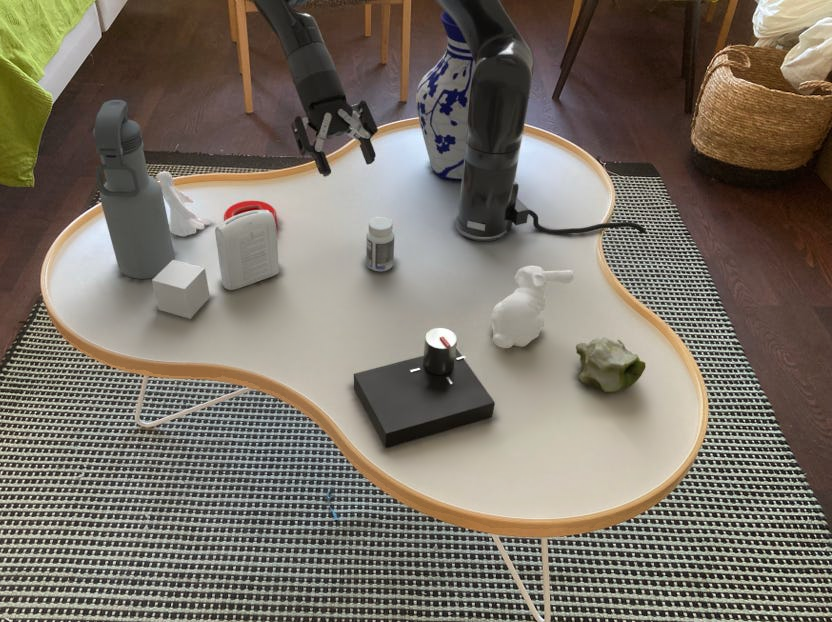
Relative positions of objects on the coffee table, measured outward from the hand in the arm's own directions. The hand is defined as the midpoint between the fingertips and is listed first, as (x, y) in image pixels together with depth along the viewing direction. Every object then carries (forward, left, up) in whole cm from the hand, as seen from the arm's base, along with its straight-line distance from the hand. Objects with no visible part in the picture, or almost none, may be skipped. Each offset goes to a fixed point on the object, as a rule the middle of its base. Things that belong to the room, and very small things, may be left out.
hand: (349, 168), depth 125 cm
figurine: (+27, -13, -14) cm, 33 cm away
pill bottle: (-2, +10, -14) cm, 17 cm away
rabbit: (-16, +34, -14) cm, 40 cm away
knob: (+1, +40, -11) cm, 41 cm away
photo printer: (+20, +6, -14) cm, 25 cm away
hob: (+5, +43, -14) cm, 45 cm away
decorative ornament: (+16, -9, -14) cm, 23 cm away
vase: (-30, -16, -14) cm, 36 cm away
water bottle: (+36, -4, -14) cm, 39 cm away
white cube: (+32, +9, -14) cm, 36 cm away
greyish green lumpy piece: (-22, +48, -14) cm, 55 cm away
